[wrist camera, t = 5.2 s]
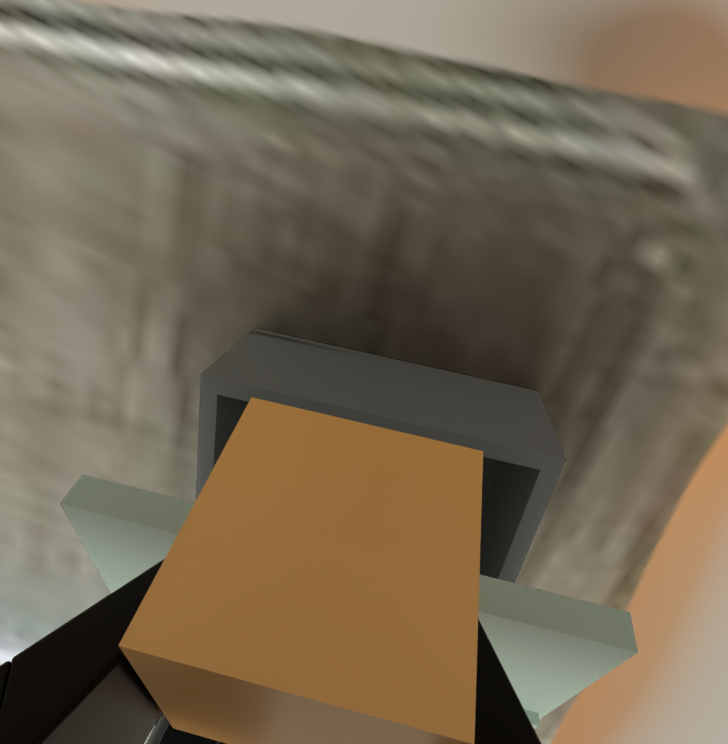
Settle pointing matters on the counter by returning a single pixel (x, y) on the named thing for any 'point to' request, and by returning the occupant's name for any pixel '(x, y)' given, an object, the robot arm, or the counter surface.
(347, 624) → the lid
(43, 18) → the counter surface
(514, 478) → the parts tub
